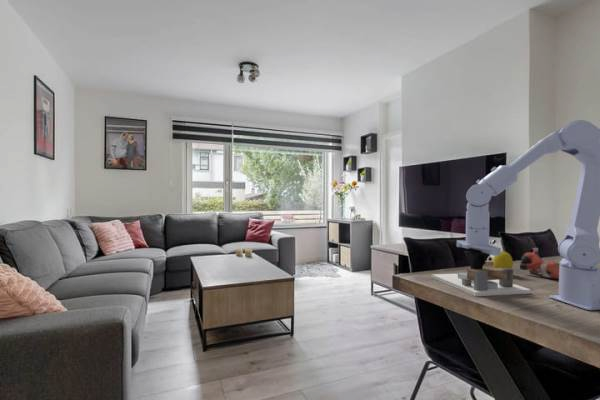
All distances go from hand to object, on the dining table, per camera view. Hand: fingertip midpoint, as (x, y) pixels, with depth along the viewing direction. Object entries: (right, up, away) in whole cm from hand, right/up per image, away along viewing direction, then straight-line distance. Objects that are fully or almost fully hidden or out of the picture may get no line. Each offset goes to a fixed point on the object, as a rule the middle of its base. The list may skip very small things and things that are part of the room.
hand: (476, 276), depth 88 cm
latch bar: (+3, -2, -1) cm, 4 cm away
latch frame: (+3, -3, +4) cm, 6 cm away
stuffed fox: (+32, -4, +16) cm, 36 cm away
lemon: (+19, -4, +18) cm, 26 cm away
